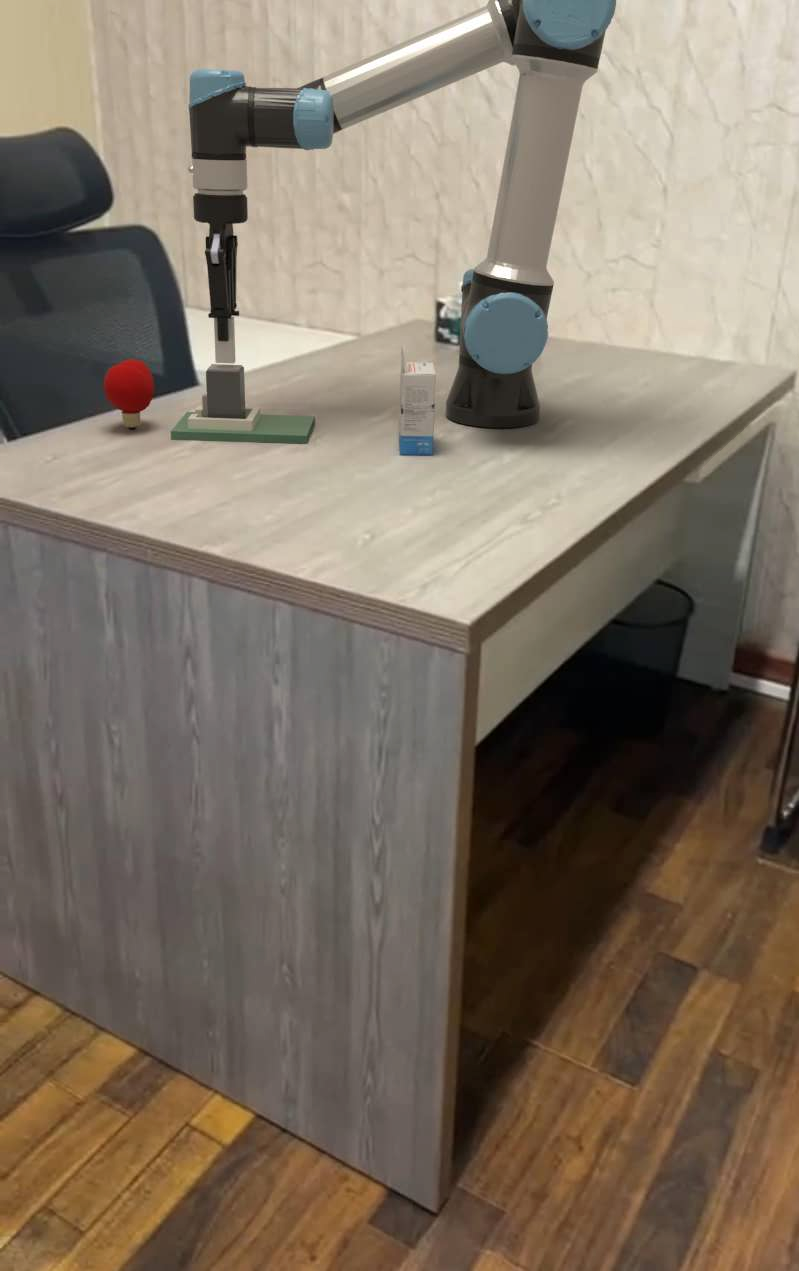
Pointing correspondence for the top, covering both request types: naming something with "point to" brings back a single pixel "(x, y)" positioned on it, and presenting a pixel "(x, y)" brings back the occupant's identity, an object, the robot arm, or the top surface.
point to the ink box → (416, 407)
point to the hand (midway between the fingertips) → (225, 362)
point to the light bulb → (129, 390)
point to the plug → (224, 392)
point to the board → (245, 427)
